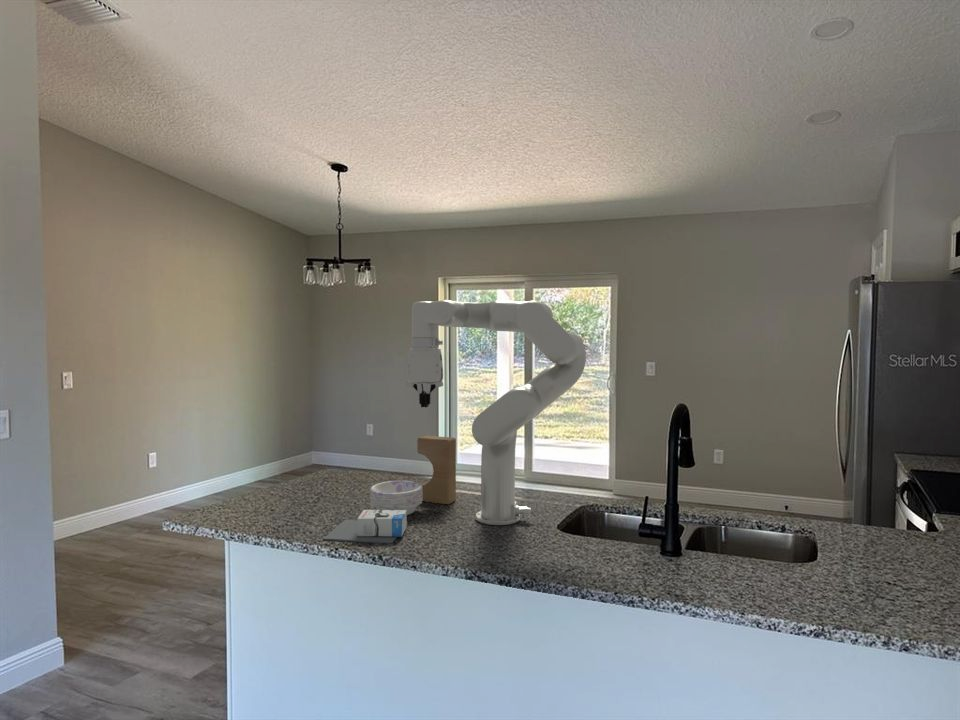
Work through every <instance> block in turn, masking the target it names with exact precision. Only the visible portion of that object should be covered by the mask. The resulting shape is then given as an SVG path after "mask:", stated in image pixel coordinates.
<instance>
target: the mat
mask: <svg viewBox="0 0 960 720" xmlns="http://www.w3.org/2000/svg"><path fill="white" fill-rule="evenodd" d="M408 525H409V522H408V521H407V526H408ZM397 539H398V537H397V536H357V519H344V520H343V521H342V522H341V523H340V524H339V525H337V526H336V527H335V528H334V529H333V530H331V531H330V532H329V533H328V534H327V535H326V536H324V537H322V540H323V541H332V540H333V542H335V541H337V542H355V543H374V544H393V543H394V542H395V541H396V540H397ZM394 540H395V541H394Z"/></svg>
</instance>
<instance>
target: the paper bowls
mask: <svg viewBox="0 0 960 720" xmlns="http://www.w3.org/2000/svg"><path fill="white" fill-rule="evenodd" d="M421 484H422V483H419V482H417V481H412V480H391V481H390V480H388V481H383V482H379V483H376V484H373V485H372V486H371V487H370V489H369V491H370V492H369V494H370V500H369V501H370V506H372V507H374V508H375V509H376V510H406V512H407V516H409V515H412V514H413V513H414V512H415V510H416V509H417V507H418V506H420V505H421V504H423V502H422V501H423V492H422V489H423V487H422V485H421Z"/></svg>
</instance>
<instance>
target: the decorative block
mask: <svg viewBox="0 0 960 720" xmlns="http://www.w3.org/2000/svg"><path fill="white" fill-rule="evenodd" d="M456 440H457V439H456V437H451V436H450V437H449V436H438V435H437V436H436V435H423V436H420V437H418V438H417V453H418V454H419V455H423V456H424V457H425V458H427V459H428V460H429V462H430V463H431V465H432V469H433V470H432V477H431V479H430V480H429V481H428V482H424V483H420V484H421V485H422V487H423V489H422V492H423V501H425V502H424V503H429V502H432V503H431V504H437V503H439V504H438V505H445V504H449V505H451V504H452V503H454V502H455V501H456V499H457V496H456V495H457V489H456V486H457V485H456V483H457V481H456V480H457V470H456V469H457V451H456V450H457V448H456V447H457V442H456Z"/></svg>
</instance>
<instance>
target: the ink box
mask: <svg viewBox="0 0 960 720" xmlns="http://www.w3.org/2000/svg"><path fill="white" fill-rule="evenodd" d="M407 516H408V515H407V512H406V510H377V509H363V510H362V511H361V513H360V514H359V515H358V517H357V519H356V520H357V536H397V538H399V537H403V535H404V534H405V531H406V529H407V526H408V525H407V522H408V521H407V519H408V517H407Z"/></svg>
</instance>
